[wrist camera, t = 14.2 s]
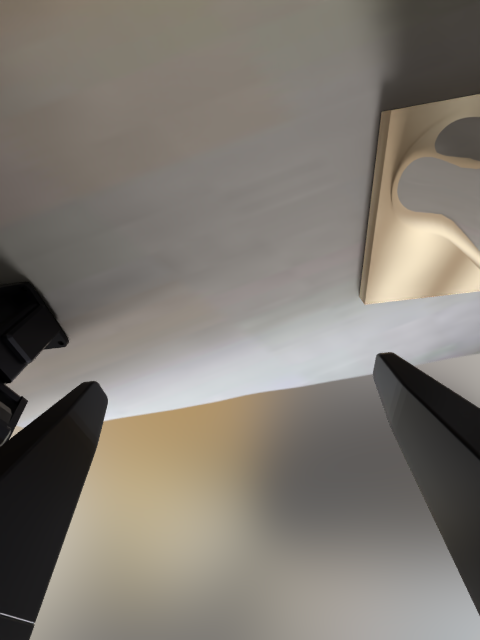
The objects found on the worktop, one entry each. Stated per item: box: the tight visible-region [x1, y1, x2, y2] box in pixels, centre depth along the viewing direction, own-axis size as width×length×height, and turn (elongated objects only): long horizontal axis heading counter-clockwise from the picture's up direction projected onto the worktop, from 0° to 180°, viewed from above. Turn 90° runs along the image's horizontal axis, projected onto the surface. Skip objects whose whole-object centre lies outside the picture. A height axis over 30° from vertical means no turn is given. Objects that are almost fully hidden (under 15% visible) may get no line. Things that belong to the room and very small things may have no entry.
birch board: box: [359, 94, 480, 305], centre depth 17 cm, size 12×12×1 cm
